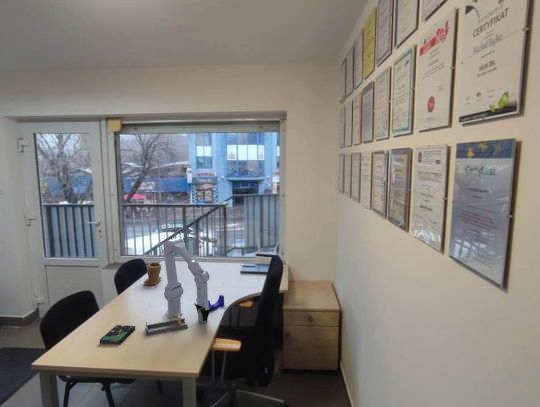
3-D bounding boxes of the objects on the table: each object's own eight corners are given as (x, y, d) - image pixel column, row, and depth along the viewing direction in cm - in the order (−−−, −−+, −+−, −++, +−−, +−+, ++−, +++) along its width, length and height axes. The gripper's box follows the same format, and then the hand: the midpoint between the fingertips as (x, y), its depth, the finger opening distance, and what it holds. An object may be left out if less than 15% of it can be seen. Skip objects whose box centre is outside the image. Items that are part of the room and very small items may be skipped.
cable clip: (209, 312, 185) (209, 302, 185) (204, 309, 189) (204, 300, 188) (225, 306, 194) (225, 296, 193) (221, 303, 197) (221, 294, 196)
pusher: (177, 322, 171) (177, 313, 170) (179, 321, 171) (179, 313, 171) (179, 327, 165) (178, 318, 165) (180, 326, 166) (180, 317, 165)
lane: (145, 328, 165) (145, 322, 165) (185, 321, 174) (185, 315, 173) (146, 336, 158) (145, 329, 157) (187, 327, 166) (187, 321, 166)
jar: (197, 320, 175) (197, 308, 174) (206, 318, 177) (206, 306, 176) (199, 324, 170) (198, 311, 169) (208, 322, 172) (208, 310, 172)
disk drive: (116, 330, 165) (99, 344, 150) (116, 324, 165) (99, 339, 150) (135, 330, 164) (120, 345, 150) (135, 325, 164) (120, 340, 149)
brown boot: (157, 286, 227) (157, 266, 225) (141, 286, 227) (140, 265, 226) (166, 279, 242) (165, 260, 240) (150, 278, 242) (150, 259, 241)
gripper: (190, 291, 176) (191, 314, 177) (199, 300, 164) (200, 325, 165) (202, 288, 180) (203, 311, 181) (212, 297, 168) (213, 321, 169)
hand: (202, 317), depth 173 cm, fingers open, 7 cm apart
